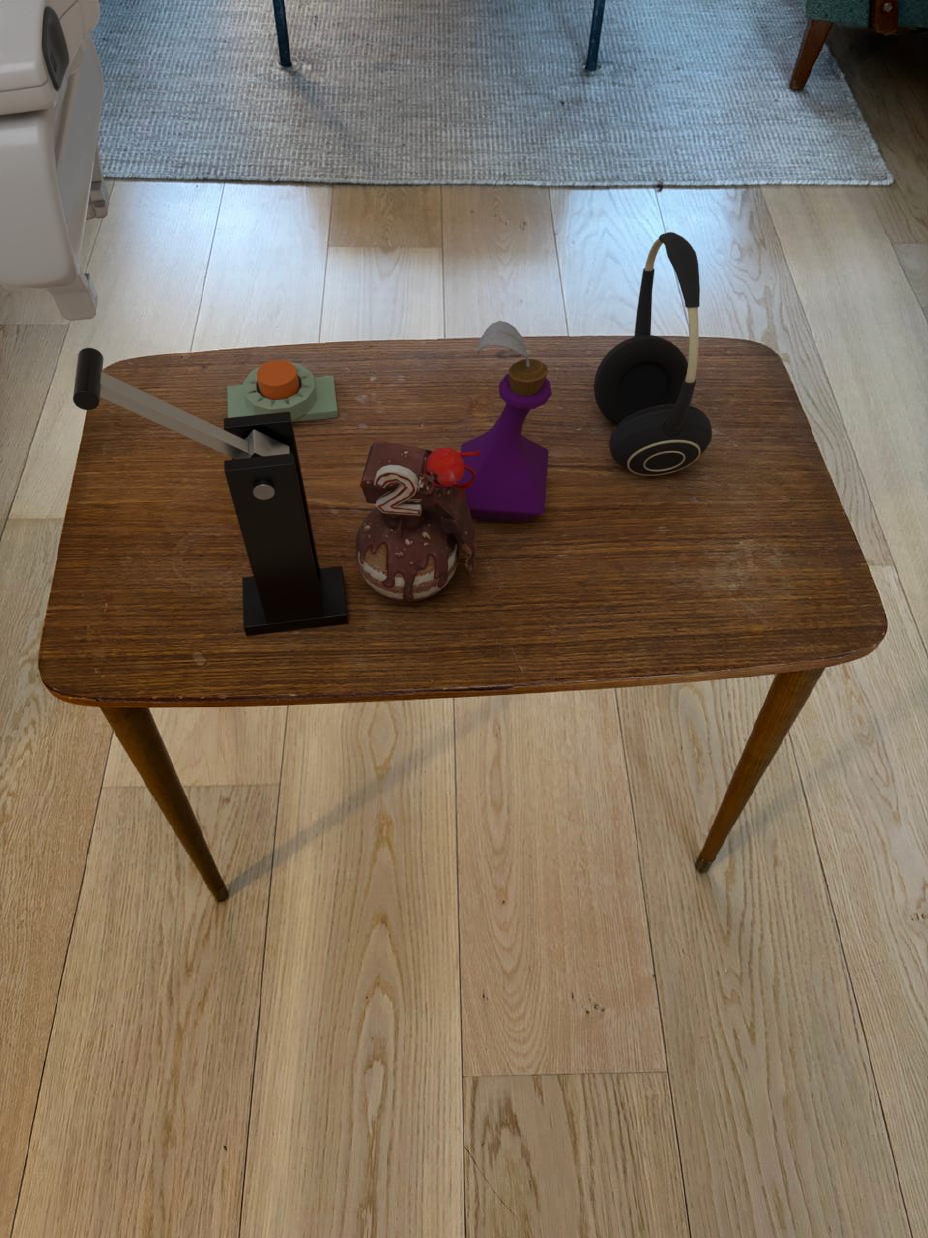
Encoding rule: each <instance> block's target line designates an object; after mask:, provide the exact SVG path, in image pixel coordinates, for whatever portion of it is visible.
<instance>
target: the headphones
mask: <svg viewBox="0 0 928 1238" xmlns="http://www.w3.org/2000/svg"><path fill="white" fill-rule="evenodd" d="M662 245H664V249H665V252H666V256H667V259H668V261H669V263H670V264H671V266H672V268H673V270H674V272H675V275H676V278H677V281H678V284H679V286H680V291H681V294H682V297H683V300H684V307H685V308H687V315H688V358H686V355H684V353H683V352H682V351H681V350H680V348H679V347H678V346H677V345H675V344H674V342H672V341H670V340H668V339H666V338H664V337H661V336H657V335H654V334H653V335H652V334H651V333H652V309H653V287H654V286H653V285H654V278H655V262H656V258H657V255H658V253H659V251H660V250H661V249H660V248H661V247H662ZM697 255H698V254H697V252H696V250H695V249H694V247H693V246H692V244H691V243H690V242H689V241H688V240H687V239H686V238H684V236H682V235H680V234H679V233H675V232H674V231H673V232H672V231H670V232H664V233H662V234H660V235H659V236H658V238H657V239H656V240H655V241H654V243H653V244H652V246H651V247H650V250H649V252H648V255H647V258H646V262H645V266H644V268H643V269H642V274H641V279H640V280H641V281H640V287H639V293H638V299H637V300H638V301H637V308H636V317H635V324H634V325H635V326H634V336H632V337H630V338H627V339H625V340H623V341H621V342H619V343H618V344H616V345H614V347H612V348H611V349H610V350H609V351H608V352H607V353H606V355H605V356H604V357H603V358H602V359H601V361H600V363H599V365H598V366H597V370H596V372H595V376H594V382H593V394H594V398H595V402H596V405H597V407H598V409H599V410H600V413H601V414H602V415H603V417H604V418H605V419H606V420H607V421H608V422H610V423H611V424H612V425H614V428H613V429H612V431H611V433H610V435H609V436H610V438H609V441H608V447H609V453H610V456H611V458H612V460H613V461H614V462H615V463H616V464H617V465H618V466H620V467H621V468H623V469H625V470H626V471H628V472H631V473H633V474H635V475H637V476H638V475H639V476H645V477H646V476H647V477H654V476H655V477H657V476H664V475H668V474H671V473H675V472H678V471H681V470H683V469H686V468H687V467H690V466H692V464H694V463H695V462H696V461H697V460H698V459H699V458H700V457H701V456H702V454H704V452H705V451H706V450H707V448H708V447H709V445H710V444H711V441H712V438H713V429H712V424H711V421H710V418H709V417H708V416H707V414H706V413H705V412H704V411H703V410H701V409H699V408H697V407H695V406H691V403H692V400H693V395H694V393H695V388H696V384H697V379H696V376H697V369H698V361H699V338H700V337H699V333H700V332H699V307H700V306H701V305H700V299H701V297H700V296H701V295H700V294H701V287H700V286H701V285H700V269H699V261H698V256H697ZM687 359H688V360H687Z"/></svg>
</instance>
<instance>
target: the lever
mask: <svg viewBox="0 0 928 1238" xmlns="http://www.w3.org/2000/svg"><path fill="white" fill-rule="evenodd" d="M76 361H77V362H76V369H75V378H74V379H75V380H74V386H73V394H72V401H73V404H74V405H75V406H76V407H77V408H79V409H80V410H83V411H93V410H95V409H96V408H98V406H99V405H100V402H101V401H100V400H101V399H103V400H105V401H107V402H109V403H111V404H114V405H116V406H118V407H120V408H123V409H125V410H127V411H129V412H132V413H134V414H136V415H138V416H140V417H142V418H144V419H147V420H149V421H151V422H153V423H155V424H157V425H160V426H162V427H164V428H167V429H168V430H170V431H172V432H175V433H176V434H178V435H181V436H184V437H185V438H188V439H190V440H192V441H194V442H197V443H198V444H200V445H203V446H205V447H207V448H209V449H211V450H213V451H216V452H218V453H220V454H222V455H225V456H226V457H229V458H231V459H232V458H233V459H243V458H253V457H262V456H271V455H281V454H290V451H289V446H287V445H285V444H283V443H281V442H279V441H277V440H275V439H273V438H271V437H269V436H267V435H265V434H262V433H260V432H258V431H256V430H253V431H252V432H251V433H250V434H249V435H248V437H247V438H246V439H245V440H244V439H242V438H240V437H238V436H235V435H233V434H231V433H229V432H227V431H225V430H224V428H221V427H218V426H216V425H215V424H212V423H210V422H208V421H206V420H204V419H202V418H200V417H198V416H195V414H194V415H193V414H192V413H189V412H187V411H186V410H183V409H181V408H179V407H177V406H175V405H172V404H170V403H169V402H167V401H164V400H162V399H160V398H158V397H156V396H154V395H152V394H149V393H147V392H145V391H143V390H141V389H139V388H137V387H135V386H133V385H130V384H129V383H126V382H125V381H122V380H120V379H118V378H116V377H114V376H112V375H110V374H108V373H106V372H104V370H103V369H104V356H103V354H102V353H101V351H99V350H98V349H96V348H94V347H84V348H82V349H81V350H79V352H78V354H77V360H76Z"/></svg>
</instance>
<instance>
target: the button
mask: <svg viewBox="0 0 928 1238" xmlns="http://www.w3.org/2000/svg"><path fill="white" fill-rule="evenodd" d="M288 361H289V360H283V359H274V360H269V361H267V362H264V363H263V364H261V366H259V367H260V368H259V367H258V368H259V369H258V371H257V379H258V384H259V388H260V392H261V394H262V395H263V396H264V397H266V398H268V399H270V400H282V399H287V398H289V397H291V396H293V395H295V394H296V392H297V391H298V389H299V381H298V376H297V370H296V368H295V366H294V365H293V364H292V363H290V362H291V361H289V362H288Z"/></svg>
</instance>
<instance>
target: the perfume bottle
mask: <svg viewBox="0 0 928 1238" xmlns="http://www.w3.org/2000/svg"><path fill="white" fill-rule="evenodd" d="M488 346H498V347H502V348H506V349H509V350H511V351H513V352H515V353H517V354H519V355H521V356H523V357H525V358H524V359H521V360H520V359H519V361H516V362H514V363H513V364H511V366H510V367H509V369H508V373H506V374H505V375H504V377H503V378H502V379H501V381H500V382H499V384H498V392H499V397H500V398H501V399H502V401H504V403H505V405H504V407H503V409H502V411H501V412H500V415H499V416H498V418H497V419H496V421H495V422H494V424H493V425H492V426H491V427H490V428H489V430H487V431H485V432H483V433H481V434H480V435H478V436H476V437H474V438H471V439H470V440H468V441H465V442H463V443H461V446H460V452H463V453H464V452H475V451H480V450H481V452H480V454H479V455H476V456H464V457H463V456H461V457H462V459H463V462H464V464H465V465H467V466H469V467H471V468H472V469H473V470H474V471H475V473H476V474H475V480H474V481H473V483H472V485H471V487H470V488H467V489H465V490H464V491H465V495H466V498H467V502H468V506H469V510H470V514H471V517H472V520H475V521H477V522H478V521H480V522H494V523H507V524H520V525H521V524H524V523H527V522H529V521H531V520H533V519H536V518H538V517H540V516H543V515H544V514H545V511H546V497H547V496H546V494H547V481H548V468H549V467H548V466H549V449H548V448H547V447H544V446H543V445H540V444H538V443H536V442H534V441H533V440H530V439H529V438H527V437H526V436H524V435H523V434H522V430H523V425H524V423H525V420H526V418H527V416H528V414H529V413H530V411H531V410H535V409H537V408H540V407H541V406H543V405H546V404H547V402H548V401H549V399H550V398H551V396H552V394H553V392H552V387H551V380H549V379H548V378H547V376H548V373H549V367H548V365H547V364H545V363H544V362H542V361H541V360H539V359H535V358H529V356H528V352H527V349H526V345H525V341H524V337H523V335H522V334H521V333H520V332H519V330H518V329H517V328H516V327H515V326H513V324H511V323H509V322H507V321H503V320H498V321H496V322H492V323H491V324H490V325H489V326H488V327H487V328H486V329H485V331H484V332H483V335H482V336H481V337H480V339H479V340H478V343H477V345H476V347H477V348H476V349H477V355H479V354H480V351H481V350H483V349H484V348H486V347H488ZM472 477H473V476H472V474H471V473H470V471H468V470H466V469H465V468H464V476H463V477H462V478H461V479H460V480H459V481H458V482H456V483H455V484H463V483H467V482H469V481H470V480H471V479H472Z"/></svg>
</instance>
